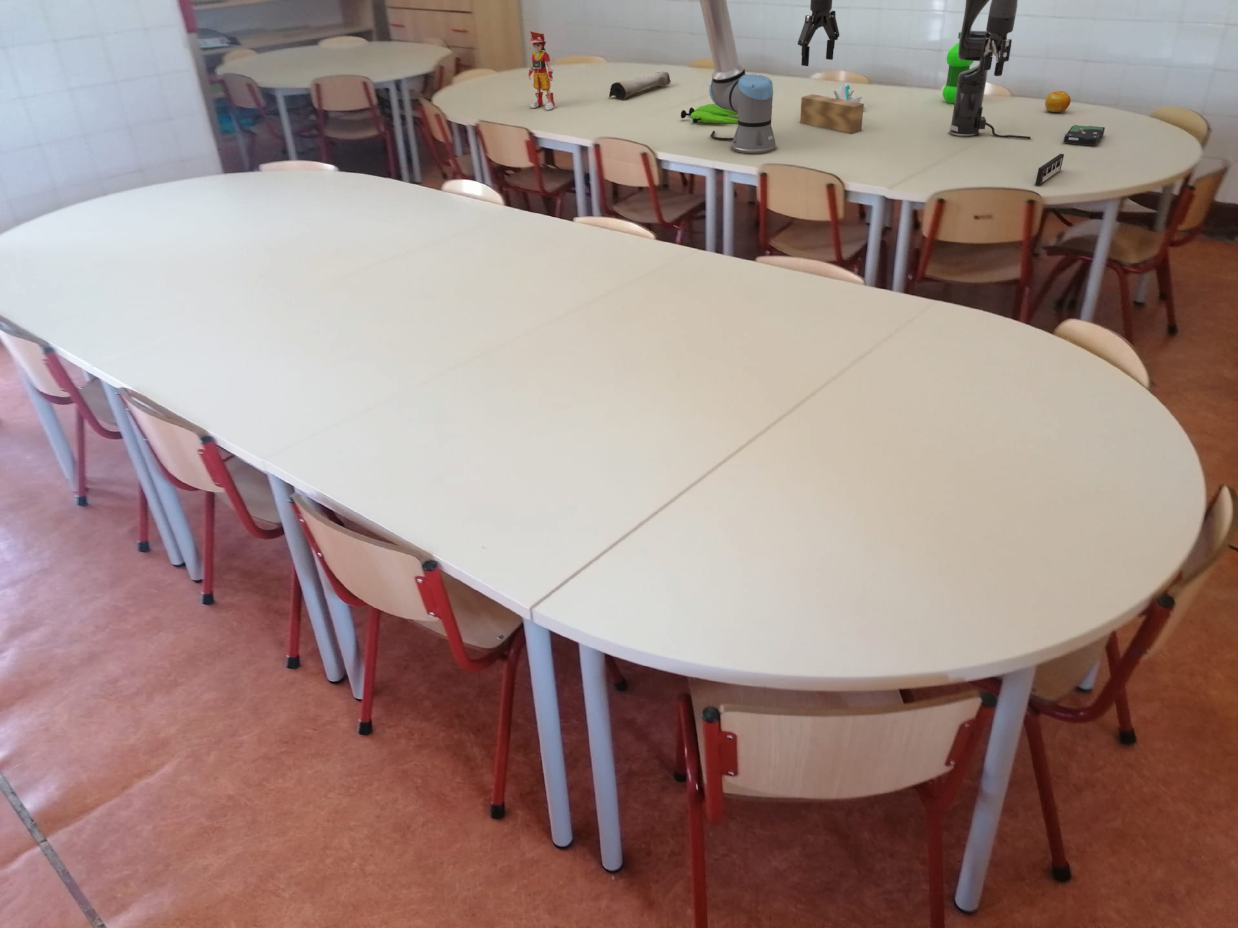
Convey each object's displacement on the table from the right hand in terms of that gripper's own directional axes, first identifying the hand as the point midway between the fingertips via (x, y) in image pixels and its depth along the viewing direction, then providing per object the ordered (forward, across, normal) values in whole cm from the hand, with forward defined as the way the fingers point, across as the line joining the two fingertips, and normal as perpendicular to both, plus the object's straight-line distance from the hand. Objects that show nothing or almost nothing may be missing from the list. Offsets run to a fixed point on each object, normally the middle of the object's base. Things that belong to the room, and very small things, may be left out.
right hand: (992, 73), depth 274 cm
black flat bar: (+28, +19, +15) cm, 37 cm away
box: (+28, -57, -33) cm, 71 cm away
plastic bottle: (+28, -79, +22) cm, 86 cm away
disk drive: (+28, -18, +44) cm, 55 cm away
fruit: (+28, -55, +52) cm, 80 cm away
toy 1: (+28, -117, -142) cm, 186 cm away
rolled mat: (+28, -133, -98) cm, 168 cm away
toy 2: (+28, -75, -71) cm, 107 cm away
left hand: (+6, -63, -38) cm, 74 cm away
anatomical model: (+28, -81, -20) cm, 88 cm away
